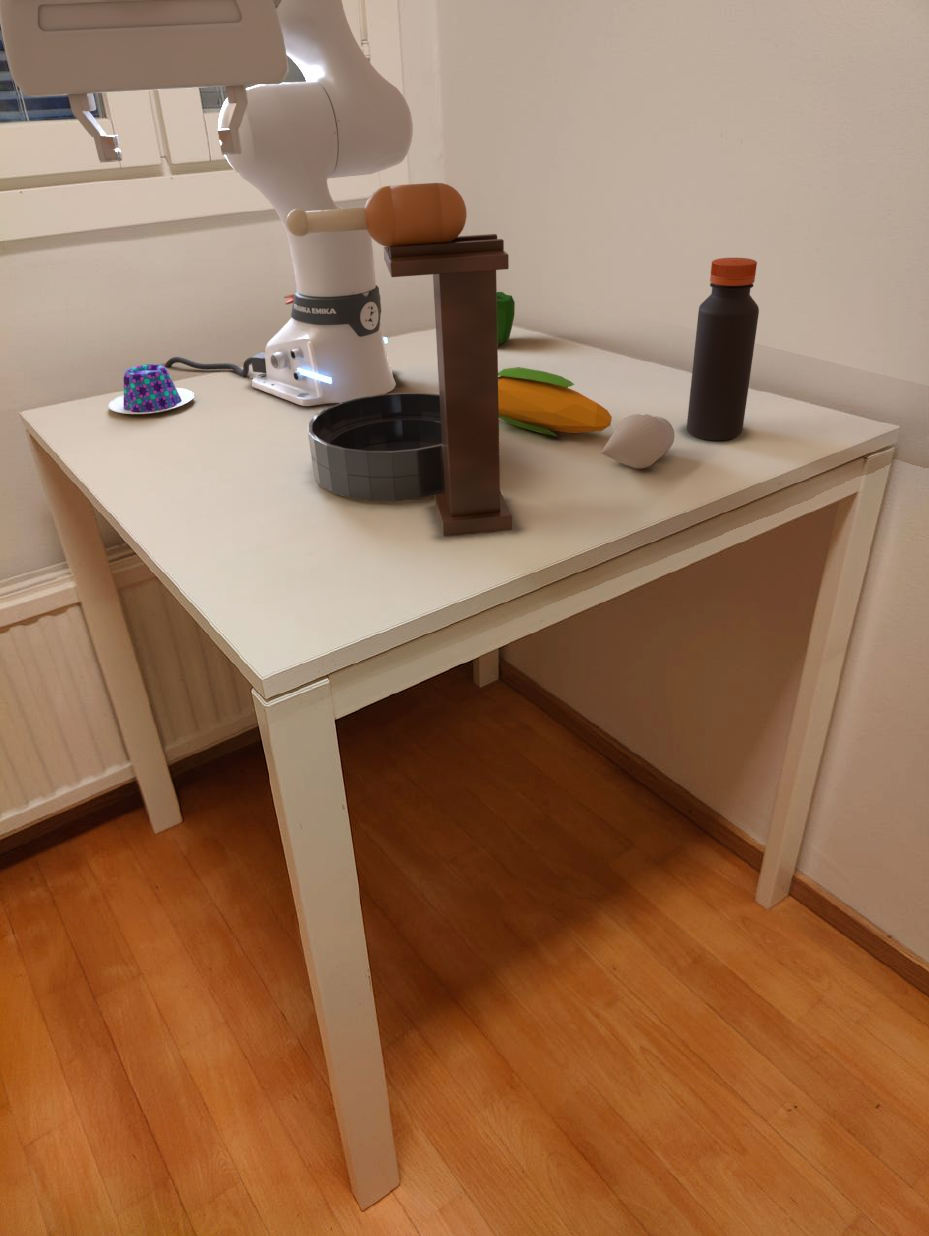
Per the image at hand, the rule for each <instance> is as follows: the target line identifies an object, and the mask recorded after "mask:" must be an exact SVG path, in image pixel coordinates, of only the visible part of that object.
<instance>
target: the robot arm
mask: <svg viewBox="0 0 929 1236" xmlns="http://www.w3.org/2000/svg"><path fill="white" fill-rule="evenodd" d="M0 30H1V36H2V41H3V46H4V50H5V56H6V59H7V60H6V61H7V64H8V68H9V72H10V75H11V78H12V81H13V82H14V84H15V85H16V86H17V87H18V88H19V90H21V92H23V93H24V94H25V95H26V96H28V97H33V98H34V97H52V96H53V97H54V96H67V97H68V101H69V105H70V109H71V114H73V116H74V117H75V118H76V119H77V120H78V122H79V123H80V124H81V125H82V127H83V128H84V130H85V131H86V132H87V133H88V134H89V135H90V136H91V138H93V141H94V144H95V149H96V153H97V157H98V160H99V162H100V164H101V163H115V162H116V163H117V162H122V161H123V154H122V151H121V149H120V148H119V147H120V141H119V137H118V136H119V135H118V134H108V135H107V133H106V132H105V131H104V129H103V128H102V127H101V125H100V124H99V122H98V121H97V120H96V118H95V117H94V116H93V114H92V113H91V112H93V111H96V110H97V105H96V101H95V96H94V94H106V93H122V92H123V93H124V92H125V93H127V92H144V91H145V92H146V91H164V90H180V89H181V90H183V89H200V88H203V89H204V88H219V87H225V91H226V99H225V100H224V102H223V104H222V107H221V110H220V112H219V117H218V123H217V125H218V126H217V127H218V128H217V134H218V140H219V144H220V151H221V155H222V156H224V157H225V159H226V160H227V162H228V164H229V166H230V167H231V168H232V169H233V170H234V171H235V172H236V174H237V175H239V176H240V177H241V178H242V179H243V180H245V181H246V182H248V183H250V184H251V185H252V186H253V187H255V188H256V189H257V190H258V191H259V192H260V193H261V194H262V195H263V196H264V197H265V198H266V199H267V201H268V202H269V204H270V205H271V206H272V207H273V209H274V210H275V213H276V214H277V215H278V217H279V220H280V221H281V223H282V226H283V228H284V231H285V234H286V238H287V242H288V247H289V251H290V255H291V256H290V257H291V261H292V267H293V273H294V278H295V286H296V290H295V292H294V293H292V294H288V295H284V297H283V298H284V299H289V300H287V301H286V302H284V305H287V306H288V305H290V304H292V306H291V313H290V318H289V320H288V321H287V322H286V323H285V324H284V325H283V326H282V328H280V329H279V330H278V332H277V333H276V334H275V335H273V337H272V338H271V339H270V340H269V341H268V342H267V343H266V345H265V349H264V351H261V352H259V353H257V354H254V355H252V356H250V357H248V358H246V359H245V360H244V362H243V364H242V368H241V367H240V366H238V365H236V364H234V363H227V362H225V363H223V362H222V363H221V362H219V363H200V362H195V361H193V360H190V359H187V358H185V357H181V356H174V357H171V358H169V359H168V360H167V361H166V363H165V364H164V365H163V367H164V368H171V367H172V366H173V365H174V364H177V363H180V364H182V365H185V366H188V367H191V368H193V369H199V370H208V371H209V370H232V371H233V372H236V373H237V374H238V375H239V376H241V377H246V376H247V375H248V374H249V373H250V365H251V367H252V368H251V369H252V372H253V373H259V374H258V375H256V376H255V377H254V378H253V379H252V380H251V387H252V388H255V389H257V390H260V391H261V392H264V393H268V394H270V395H273V396H275V397H277V398H281V399H283V400H285V401H288V402H291V403H293V404H296V405H298V406H301V407H310V406H311V407H312V406H319V405H325V404H339V403H342V402H346V401H349V400H353V399H357V398H361V397H367V396H373V395H380V394H389V393H391V392H392V391H393V390H394V389H395V388H396V387H397V386H396V385H397V384H396V381H395V378H394V375H393V370H392V367H391V365H390V361H389V357H388V352H387V348H386V344H388V337H386V336H384V331H383V328H382V327H383V326H382V324H381V315H382V303H381V300H382V297H381V294H380V287H379V286H378V285H377V284H376V282H377V281H376V272H375V261H374V249H373V238H372V237H371V236H370V235H369V233H368V231H367V230H354V231H338V232H322V233H308V234H306V235H304V236H295V235H293V234H292V233H291V232H290V231H289V230H288V228H287V224H286V219H287V216H288V214H289V213H290V212H291V211H292V210H295V209H301V210H304V211H317V210H334V209H345V208H344V207H342V206H340V205H337V204H336V203H335V201H334V199H333V198H332V196H331V193H330V189H329V185H328V180H329V179H336V178H337V179H338V178H346V177H356V176H366V175H367V176H368V175H372V174H376V173H378V172H382V171H384V170H388V169H389V168H393V167H395V166H398V165H400V164H402V163H403V161H404V160H405V158H406V156H407V155H408V153H409V150H410V148H411V145H412V142H413V141H412V140H413V135H414V125H413V116H412V112H411V109H410V107H409V104H408V102H407V100H406V98H405V97H404V94H402V93H401V91H400V90H399V88H397V87H396V86H395V85H394V84H393V83H391V82H390V81H388V80H387V79H386V78H385V77H383V75H381V74H380V73H379V72H378V70H376V68H375V67H374V66H373V65H372V63H371V62H370V61H369V59H368V57H366V55H365V53H364V52H363V50H362V48H361V47H360V45H359V44H358V41H357V40H356V37H355V36H354V33H353V32H352V30H351V27H350V24H349V21H348V19H347V15H346V13H345V9H344V5H343V0H0ZM288 58H289V59H291V60H292V61H293V63H295V64H296V67H298V69H299V70H300V71H301V73H302V74H303V77H304V78H305V81H289V82H287V81H286V82H284V81H285V79H286V78H287V77H288V75H289V72H290V68H289V67H290V66H289V60H288ZM247 86H250V87H247Z"/></svg>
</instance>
